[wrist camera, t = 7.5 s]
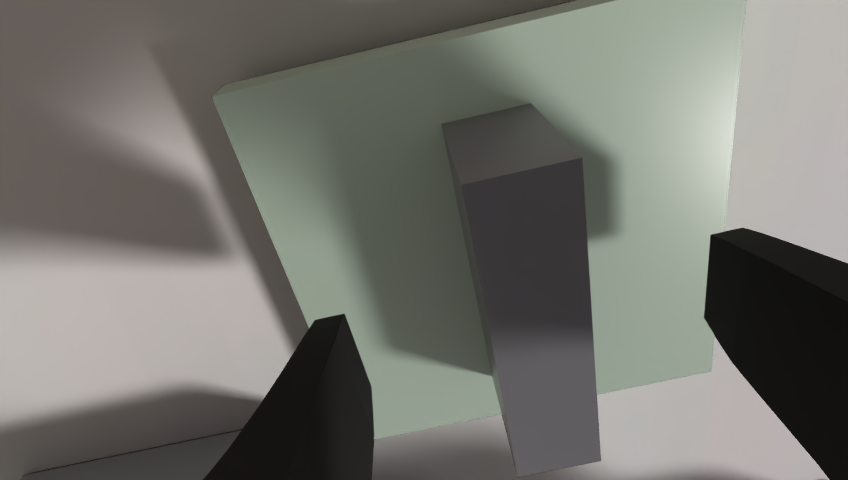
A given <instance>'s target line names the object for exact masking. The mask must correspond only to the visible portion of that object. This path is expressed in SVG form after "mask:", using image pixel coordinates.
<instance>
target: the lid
mask: <svg viewBox="0 0 848 480" xmlns="http://www.w3.org/2000/svg"><path fill="white" fill-rule="evenodd" d="M745 10H746V0H576V1H572V2H568V3H564V4H560V5H555V6H551V7H547V8H543V9H539V10H534V11H530V12H526V13H522V14H518V15H514V16H509V17H505V18H501V19H497V20H493V21H488V22H484V23H480V24H476V25H472V26H467V27H463V28H459V29H455V30H451V31H446V32H442V33H438V34H434V35H430V36H426V37H421V38H417V39H413V40H409V41H405V42H400V43H396V44H392V45H388V46H384V47H379V48H375V49H371V50H367V51H363V52H358V53H354V54H350V55H346V56H342V57H338V58H333V59H329V60H325V61H321V62H317V63H312V64H308V65H304V66H300V67H296V68H291V69H287V70H283V71H279V72H275V73H271V74H266V75H262V76H258V77H254V78H250V79H245V80H241V81H237V82H233V83H229V84H225V85H224V86H223V87H222V88H221V89H219V90H218V91H217V92H216V93H215V94H214V95H213V96H211V97H212V100H213V102H214V104H215V107H216V109H217V111H218V114H219V116H220V119H221V121H222V123H223V126H224V128H225V130H226V133H227V135H228V137H229V140H230V142H231V145H232V147H233V149H234V152H235V154H236V156H237V159H238V161H239V164H240V166H241V168H242V171H243V173H244V175H245V178H246V180H247V183H248V185H249V187H250V190H251V192H252V194H253V197H254V199H255V201H256V204H257V206H258V209H259V211H260V213H261V216H262V218H263V220H264V223H265V225H266V228H267V230H268V232H269V235H270V237H271V239H272V242H273V244H274V246H275V249H276V251H277V254H278V256H279V258H280V261H281V263H282V265H283V268H284V270H285V273H286V275H287V277H288V280H289V282H290V284H291V287H292V289H293V292H294V294H295V296H296V299H297V301H298V303H299V306H300V308H301V310H302V313H303V315H304V318H305V320H306V322H307V325H308V327H309V328H310V326H311V325H312V323H313V322H314V320H317V319H321V318H326V317H330V316H335V315H340V314H344V313H345V316H346V319H347V321H348V324H349V327H350V330H351V332H352V335H353V338H354V341H355V343H356V346H357V349H358V351H359V354H360V357H361V360H362V362H363V365H364V368H365V370H366V373H367V376H368V379H369V381H370V384H371V387H372V402H373V419H374V440H376V439H381V438H385V437H390V436H395V435H400V434H405V433H410V432H415V431H420V430H425V429H430V428H435V427H440V426H445V425H450V424H454V423H459V422H464V421H469V420H474V419H479V418H484V417H489V416H494V415H499V414H502V417H503V421H504V425H505V429H506V433H507V437H508V441H509V445H510V449H511V453H512V457H513V461H514V465H515V469H516V473H517V477H521V476H526V475H532V474H537V473H542V472H547V471H552V470H557V469H562V468H567V467H572V466H577V465H582V464H587V463H592V462H598V461H601V455H600V439H599V422H598V406H597V394H602V393H607V392H612V391H617V390H622V389H627V388H632V387H637V386H642V385H647V384H652V383H656V382H661V381H666V380H671V379H676V378H681V377H686V376H691V375H696V374H701V373H706V372H711V368H712V357H713V347H714V336H715V335H714V333H713V332H712V330H711V328H710V327H709V325H708V324H707V322H706V320H705V319H704V310H705V298H706V285H707V273H708V260H709V248H710V235H711V234H716V233H721V232H724V231H725V220H726V210H727V199H728V189H729V178H730V168H731V157H732V147H733V136H734V126H735V115H736V104H737V94H738V83H739V73H740V62H741V52H742V41H743V31H744V20H745Z"/></svg>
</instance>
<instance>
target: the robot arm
mask: <svg viewBox="0 0 848 480" xmlns="http://www.w3.org/2000/svg"><path fill="white" fill-rule="evenodd" d="M704 319H705V320H706V322H707V324H708V325H709V327H710V328H711V330H712V332H713V333H714V335H715V337H716V338H717V340H718V342H719V343H720V345H721V346H722V348H723V349H724V351H725V352H726V354H727V355H728V357H729V358H730V360H731V361H732V363H733V364H734V365H735V366H736V368H737V369H738V370H739V371H740V373H741V374H742V375H743V376H744V377H745V379H746V380H747V381H748V382H749V383H750V385H751V386H752V387H753V388H754V389H755V391H756V392H757V393H758V394H759V395H760V397H761V398H762V399H763V400H764V401H765V402H766V404H767V405H768V406H769V407H770V408H771V410H772V411H773V412H774V413H775V414H776V415H777V417H778V418H779V419H780V420H781V421H782V422H783V424H784V425H785V426H786V427H787V428H788V430H789V431H790V432H791V433H792V434H793V435H794V437H795V438H796V439H797V440H798V441H799V443H800V444H801V445H802V446H803V447H804V448H805V450H806V451H807V452H808V453H809V454H810V456H811V457H812V458H813V459H814V460H815V461H816V463H817V464H818V465H819V466H820V468H821V469H822V470H823V472H824V473H825V474H826V475H827V477H828V478H829V479H830V480H848V263H845V262H842V261H839V260H836V259H834V258H831V257H828V256H825V255H822V254H820V253H817V252H814V251H811V250H808V249H806V248H803V247H800V246H797V245H795V244H792V243H789V242H786V241H783V240H780V239H777V238H775V237H772V236H769V235H766V234H762V233H759V232H756V231H753V230H749V229H745V228H739V229H735V230H730V231H725V232H721V233H716V234H711V235H710V248H709V260H708V273H707V285H706V298H705V310H704ZM373 447H374V419H373V402H372V387H371V384H370V381H369V379H368V376H367V373H366V370H365V368H364V365H363V362H362V360H361V357H360V354H359V351H358V349H357V346H356V343H355V341H354V338H353V335H352V332H351V330H350V327H349V324H348V321H347V319H346V316H345V313H344V314H340V315H335V316H330V317H326V318H321V319H317V320H314V322H313V323H312V325H311V326H310V328H309V329H308V331H307V332H306V334H305V336H304V337H303V339H302V340H301V342H300V344H299V345H298V347H297V348H296V350H295V352H294V353H293V355H292V356H291V358H290V360H289V361H288V363H287V364H286V366H285V368H284V369H283V371H282V372H281V374H280V375H279V377H278V378H277V380H276V381H275V383H274V384H273V386H272V387H271V389H270V391H269V392H268V394H267V395H266V397H265V398H264V400H263V401H262V403H261V404H260V406H259V407H258V408H257V410H256V411H255V413H254V414H253V415H252V417H251V418H250V420H249V421H248V422H247V424H246V425H245V426H244V428H243V429H242V431H241V432H240V433H239V435H238V436H237V437H236V439H235V440H234V442H233V443H232V444H231V446H230V447H229V448H228V450H227V451H226V452H225V453H224V455H223V456H222V457H221V458H220V460H219V461H218V462H217V463H216V465H215V466H214V467H213V468H212V469H211V471H210V472H209V473H208V474H207V475H206V477H205V478H204V479H203V480H371V479H372V463H373Z"/></svg>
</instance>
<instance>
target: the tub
mask: <svg viewBox="0 0 848 480" xmlns="http://www.w3.org/2000/svg"><path fill="white" fill-rule="evenodd" d="M241 431H242V430H240V431H235V432H230V433H225V434H220V435H216V436H211V437H206V438H201V439H196V440H191V441H187V442H182V443H177V444H172V445H167V446H162V447H158V448H153V449H148V450H143V451H138V452H133V453H129V454H124V455H119V456H114V457H109V458H104V459H100V460H95V461H90V462H85V463H80V464H75V465H71V466H66V467H61V468H56V469H51V470H47V471H42V472H37V473H32V474H27V475H23V477H22V478H21V479H20V480H203V479H204V478H205V477H206V475H207V474H208V473H209V472H210V471H211V469H212V468H213V467H214V466H215V465H216V463H217V462H218V461H219V460H220V458H221V457H222V456H223V455H224V453H225V452H226V451H227V450H228V448H229V447H230V446H231V444H232V443H233V442H234V440H235V439H236V437H237V436H238V435H239V433H240V432H241Z"/></svg>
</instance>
